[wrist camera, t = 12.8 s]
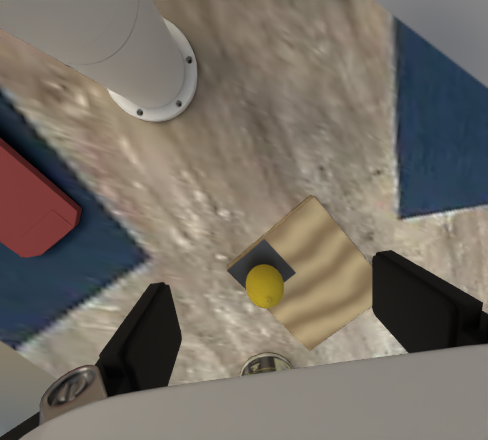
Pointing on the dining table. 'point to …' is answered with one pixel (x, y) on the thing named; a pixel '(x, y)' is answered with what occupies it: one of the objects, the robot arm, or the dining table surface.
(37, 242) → the red sloped ramp
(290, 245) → the board
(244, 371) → the coffee can
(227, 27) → the dining table surface
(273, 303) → the lemon
